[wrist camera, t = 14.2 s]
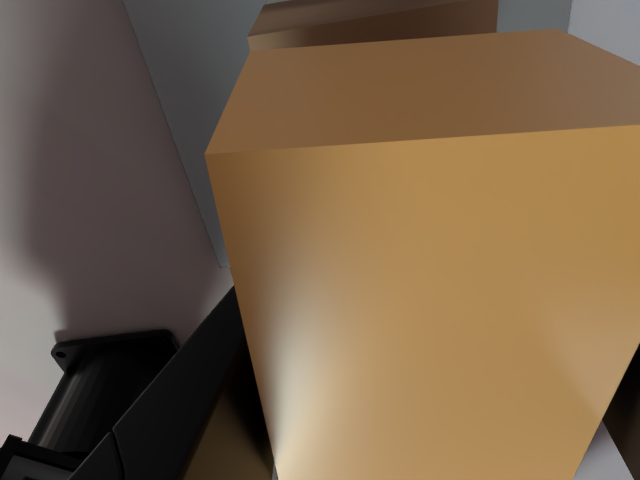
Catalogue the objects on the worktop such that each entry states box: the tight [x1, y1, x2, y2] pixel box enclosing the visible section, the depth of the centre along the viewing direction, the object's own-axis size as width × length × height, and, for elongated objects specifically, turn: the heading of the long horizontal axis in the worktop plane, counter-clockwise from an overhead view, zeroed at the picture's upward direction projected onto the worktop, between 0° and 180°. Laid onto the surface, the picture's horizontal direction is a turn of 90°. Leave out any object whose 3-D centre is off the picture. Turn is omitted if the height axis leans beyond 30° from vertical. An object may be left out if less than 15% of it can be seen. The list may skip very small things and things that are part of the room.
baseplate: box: [123, 0, 572, 268], centre depth 15 cm, size 14×14×4 cm
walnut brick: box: [247, 0, 499, 51], centre depth 12 cm, size 4×7×4 cm, turn 8°
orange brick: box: [204, 28, 640, 480], centre depth 7 cm, size 4×7×4 cm, turn 4°
